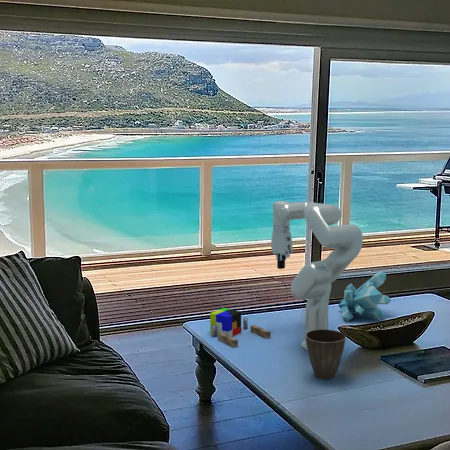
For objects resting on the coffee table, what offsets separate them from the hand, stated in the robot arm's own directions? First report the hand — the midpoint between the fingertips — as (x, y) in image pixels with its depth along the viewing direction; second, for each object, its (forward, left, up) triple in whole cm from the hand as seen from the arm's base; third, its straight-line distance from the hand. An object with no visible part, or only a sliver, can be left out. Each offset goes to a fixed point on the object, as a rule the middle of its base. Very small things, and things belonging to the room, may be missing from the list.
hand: (281, 268), depth 296 cm
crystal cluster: (-11, -44, -29) cm, 54 cm away
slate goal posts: (+11, +21, -29) cm, 38 cm away
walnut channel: (0, +21, -29) cm, 36 cm away
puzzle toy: (+11, +23, -29) cm, 39 cm away
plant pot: (-51, +21, -29) cm, 62 cm away
